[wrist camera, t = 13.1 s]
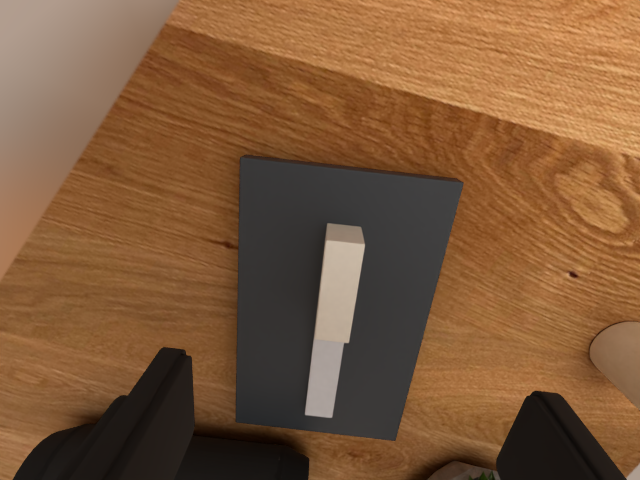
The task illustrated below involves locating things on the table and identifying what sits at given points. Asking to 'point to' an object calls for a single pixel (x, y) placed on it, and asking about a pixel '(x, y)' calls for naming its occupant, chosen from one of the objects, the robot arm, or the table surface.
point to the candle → (620, 357)
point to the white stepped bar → (334, 314)
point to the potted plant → (463, 472)
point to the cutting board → (304, 282)
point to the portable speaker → (197, 464)
